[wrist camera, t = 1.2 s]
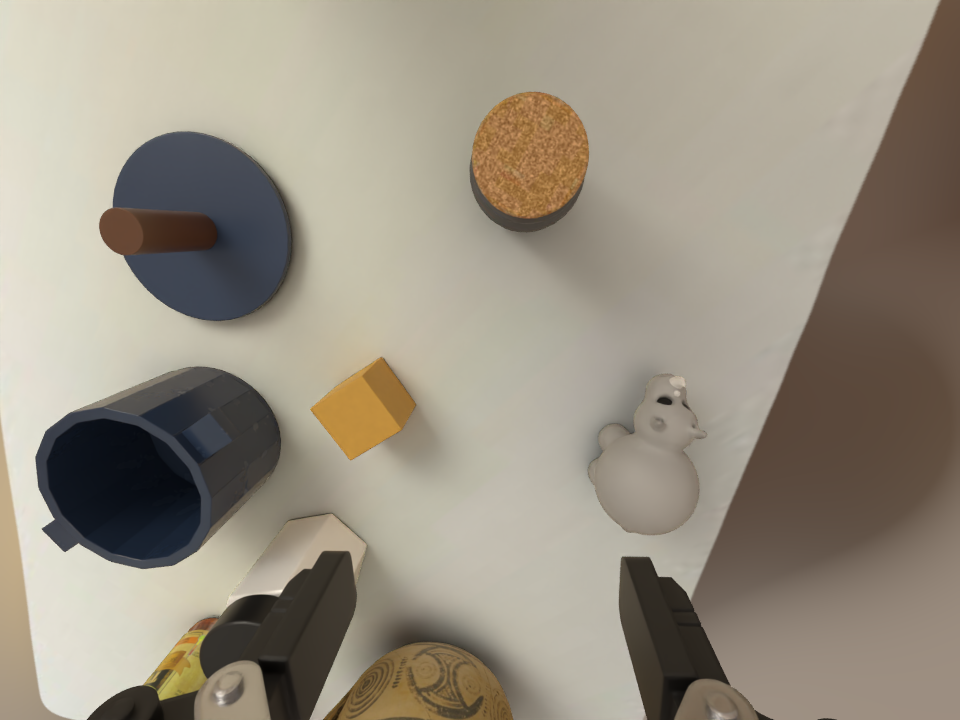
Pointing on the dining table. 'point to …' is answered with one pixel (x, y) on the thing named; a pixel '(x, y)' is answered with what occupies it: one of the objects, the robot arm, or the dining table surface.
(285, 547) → the jar
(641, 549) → the dining table surface
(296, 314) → the dining table surface
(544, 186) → the bottle
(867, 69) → the dining table surface
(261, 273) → the lid
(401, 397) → the block
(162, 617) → the dining table surface
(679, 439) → the round bodied animal figurine
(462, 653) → the ceramic bowl
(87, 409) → the pot
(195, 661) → the sauce bottle
